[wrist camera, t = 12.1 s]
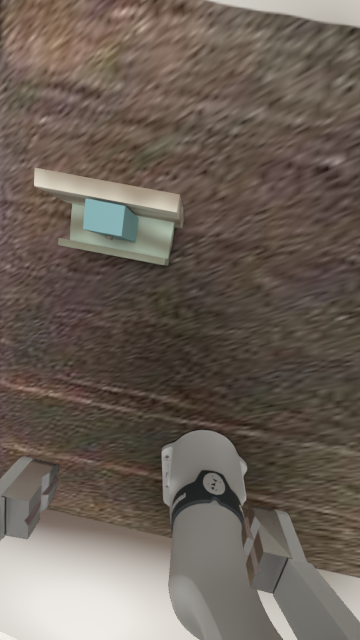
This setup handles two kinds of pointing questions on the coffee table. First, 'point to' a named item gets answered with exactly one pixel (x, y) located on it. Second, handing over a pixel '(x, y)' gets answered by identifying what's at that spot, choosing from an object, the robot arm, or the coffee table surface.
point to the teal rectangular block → (110, 220)
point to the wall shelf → (148, 205)
